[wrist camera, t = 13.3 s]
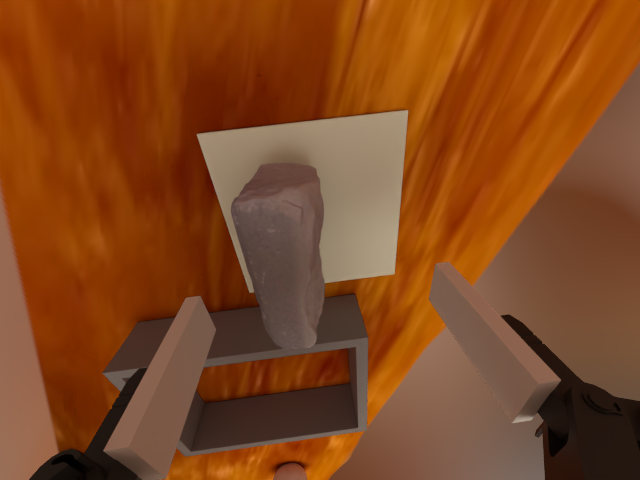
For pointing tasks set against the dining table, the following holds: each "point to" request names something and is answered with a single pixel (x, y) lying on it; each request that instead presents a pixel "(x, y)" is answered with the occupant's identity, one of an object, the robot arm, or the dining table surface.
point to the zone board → (326, 183)
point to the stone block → (284, 249)
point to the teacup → (290, 472)
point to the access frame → (268, 410)
